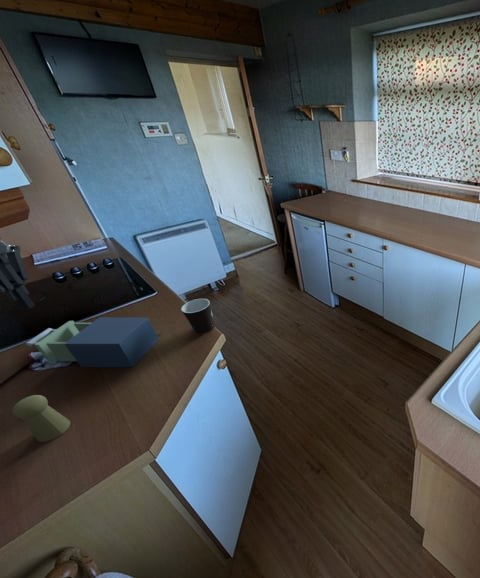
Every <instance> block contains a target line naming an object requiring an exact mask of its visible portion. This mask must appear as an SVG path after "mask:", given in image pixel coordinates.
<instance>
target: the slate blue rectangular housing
mask: <svg viewBox="0 0 480 578" xmlns="http://www.w3.org/2000/svg"><path fill="white" fill-rule="evenodd" d="M90 323H91V324H90V325H89V326H87V327H86V328H85V329H83V330H82V331H81V332H79V333H78V334H77V335H75V336H74V337H73V338H71V339H70V340H69V341H67V342H66V343H65V346H66V347H67V348H68V350H69V351H70V352H71V354H72V355H73V356H74V358H75V359H76V360H77V361H76V362H77V363H78V365H79V366H80V368H134V367H136V365H137V364H138V363H139V361H141V359H142V358H143V357H144V356H145V355H146V354H147V353H148V352H149V351H150V350H151V349H152V348H153V347H154V346H155V345H156V344H157V343H158V342H159V340H160V339H159V337H158V335H157V333H156V331H155V329H154V327H153V325H152V323H151V321H150V319H149V317H108V316H107V317H103V316H102V317H98V318H97V319H94V321H92V322H90Z"/></svg>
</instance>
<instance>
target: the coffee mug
mask: <svg viewBox="0 0 480 578" xmlns="http://www.w3.org/2000/svg"><path fill="white" fill-rule="evenodd" d="M181 312H182V314H183V315H184V317H185V318H186V320H187V321H188V323H189V325H190V326H191V328H192V329H193V331H194V333H196V334H199V335H203V334H207V333H208V332H209V333H210V332H211V331H213V329H214V328H215V321H214V316H213V310H212V306H211V301H210V300H209V299H207V298H196V299H192V300H189V301H188V302H186V303H184V304H183V305H182V306H181ZM212 325H213V326H212Z"/></svg>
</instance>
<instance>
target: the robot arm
mask: <svg viewBox="0 0 480 578" xmlns="http://www.w3.org/2000/svg"><path fill="white" fill-rule="evenodd" d="M1 238H2V237H0V293H4V294H5V296H6V297H7V298H8V299H9V300H10V301H14V302H15V303H16V304H17V305H18V307H19V308H20V309H31V308H33V307H35V306H36V304H35V303H34V302H33V301H32V299H31V297H30V296H29V295H30V292H29V290H28V289H27V287H26V285H27V282H26V281H28V280H29V279H30V277H29V274H28V272H27V271H28V270H27V269H26V266H25V264H24V261H23V258H22V255H21V246H20V245H10V244H6V242H4V241H3V240H1Z"/></svg>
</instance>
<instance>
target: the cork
mask: <svg viewBox="0 0 480 578" xmlns="http://www.w3.org/2000/svg"><path fill="white" fill-rule="evenodd" d="M12 414H13V416H15V417H16V418H18V419H23V421H24V422H25V424H26V425H27V427H28V429H29V430H30V432H31V434H33V436H34V438H35V440H36V441H37V442H39V443H46V442H50V441H53V440H54V439H56V438H58V437H60V436H61V435H63V434H64V433H65V432H66V431H67V430H68V429H69V428H70V425H71V420H69V419H68V418H67V417H65V416H64V415H63V414H61V413H60V412H58V411H57V410H56V409H54V408H53V407H51V406H50V405H49V402H48V399H47V398H46V397H45V396H43V395H42V394H41V395H40V394H32V395H30V396H27V397H24V398H23V399H21V400H19V401H18V402H16V403H15V404H14V406H13V407H12Z"/></svg>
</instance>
